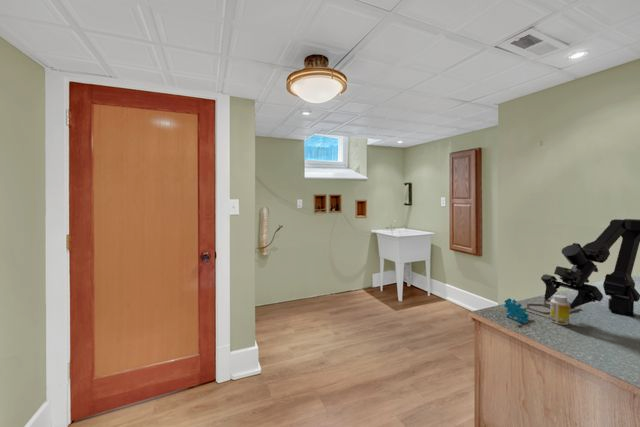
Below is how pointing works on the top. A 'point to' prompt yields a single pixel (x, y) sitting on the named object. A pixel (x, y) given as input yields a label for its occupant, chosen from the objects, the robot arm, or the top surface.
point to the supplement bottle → (559, 310)
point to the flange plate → (544, 308)
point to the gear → (516, 311)
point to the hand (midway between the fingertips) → (557, 303)
